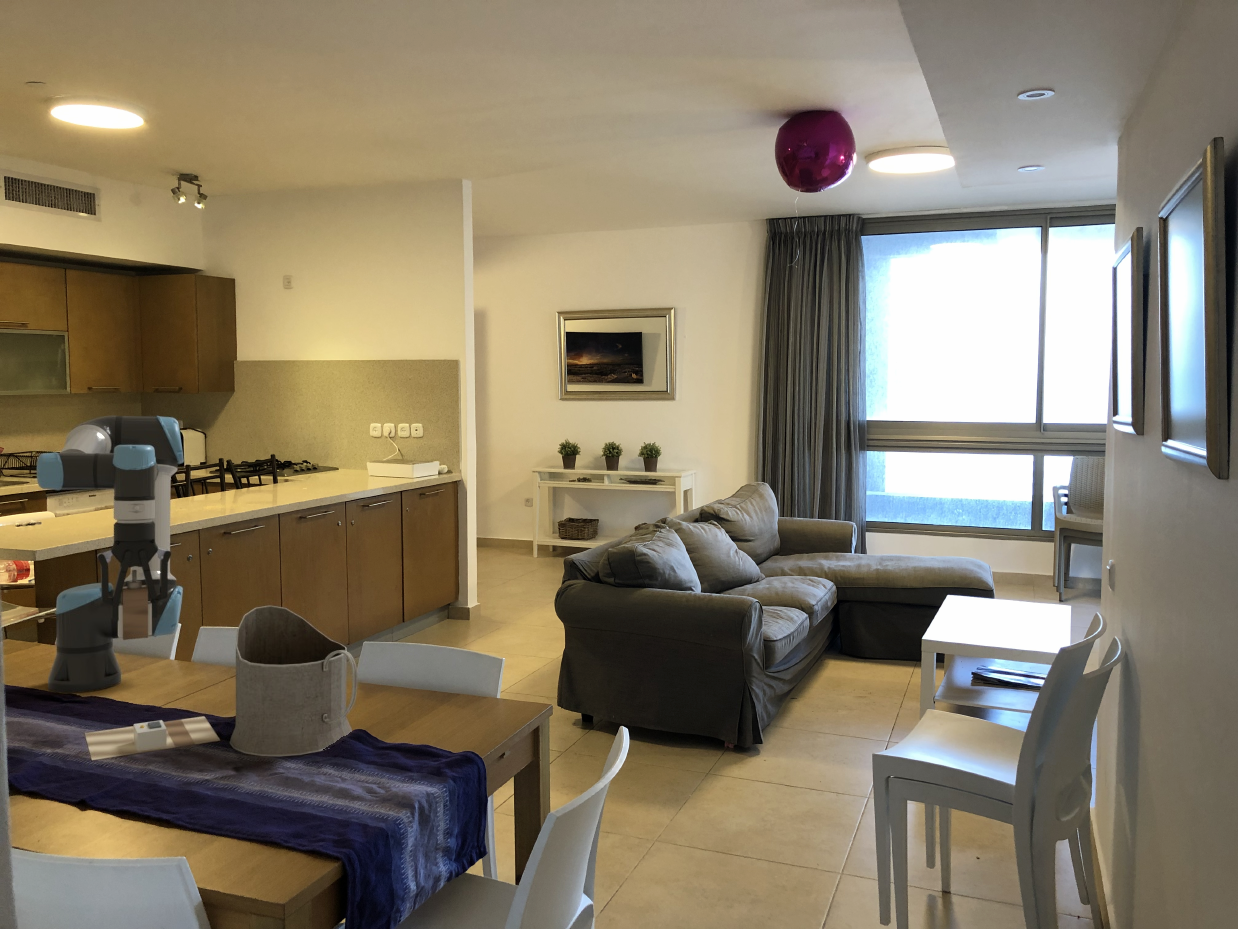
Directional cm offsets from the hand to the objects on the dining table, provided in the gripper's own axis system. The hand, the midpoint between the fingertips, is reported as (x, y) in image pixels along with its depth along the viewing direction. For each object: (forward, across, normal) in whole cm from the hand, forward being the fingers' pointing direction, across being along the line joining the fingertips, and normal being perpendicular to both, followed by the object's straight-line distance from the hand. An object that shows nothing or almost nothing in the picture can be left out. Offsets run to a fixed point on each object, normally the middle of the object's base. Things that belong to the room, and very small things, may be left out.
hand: (134, 635), depth 196 cm
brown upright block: (0, 0, 0) cm, 0 cm away
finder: (+18, +1, -15) cm, 24 cm away
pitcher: (+20, +28, -22) cm, 41 cm away
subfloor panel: (+20, +2, -10) cm, 22 cm away
